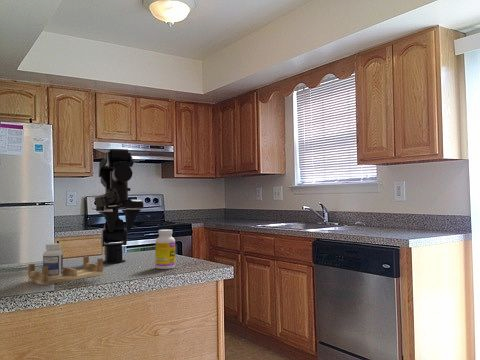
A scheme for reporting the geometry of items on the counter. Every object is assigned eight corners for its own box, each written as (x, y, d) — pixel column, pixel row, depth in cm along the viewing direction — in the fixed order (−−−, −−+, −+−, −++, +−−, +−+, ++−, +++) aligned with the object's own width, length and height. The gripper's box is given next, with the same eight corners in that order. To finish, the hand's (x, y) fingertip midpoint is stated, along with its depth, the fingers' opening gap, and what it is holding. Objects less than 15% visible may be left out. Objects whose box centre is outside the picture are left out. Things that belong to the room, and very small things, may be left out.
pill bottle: (51, 274, 129) (51, 242, 130) (66, 275, 128) (66, 243, 128) (38, 278, 124) (38, 244, 124) (53, 279, 123) (54, 245, 123)
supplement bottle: (171, 269, 141) (170, 231, 142) (152, 269, 142) (152, 230, 143) (178, 266, 148) (177, 229, 148) (160, 265, 149) (159, 229, 149)
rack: (28, 281, 125) (28, 264, 125) (86, 271, 140) (86, 256, 140) (44, 285, 119) (44, 267, 119) (102, 274, 134) (102, 258, 134)
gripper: (82, 186, 144) (82, 233, 143) (116, 181, 133) (116, 231, 131) (110, 188, 153) (110, 231, 151) (144, 183, 142) (145, 230, 140)
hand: (119, 231), depth 143 cm, fingers open, 9 cm apart
